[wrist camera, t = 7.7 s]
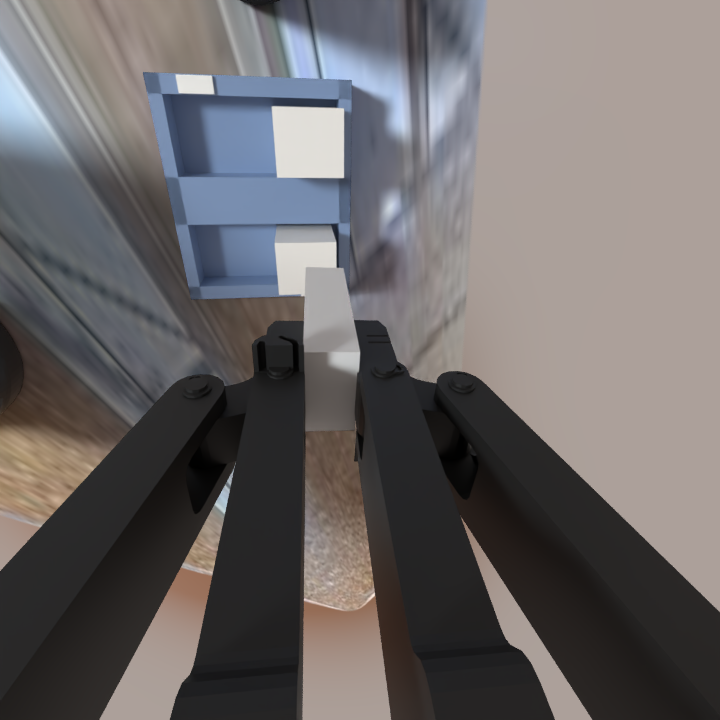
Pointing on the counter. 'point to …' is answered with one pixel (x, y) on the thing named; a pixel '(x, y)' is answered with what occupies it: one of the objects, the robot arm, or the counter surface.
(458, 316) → the counter surface
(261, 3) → the beverage can
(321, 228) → the white block
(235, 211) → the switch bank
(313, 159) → the tab near
